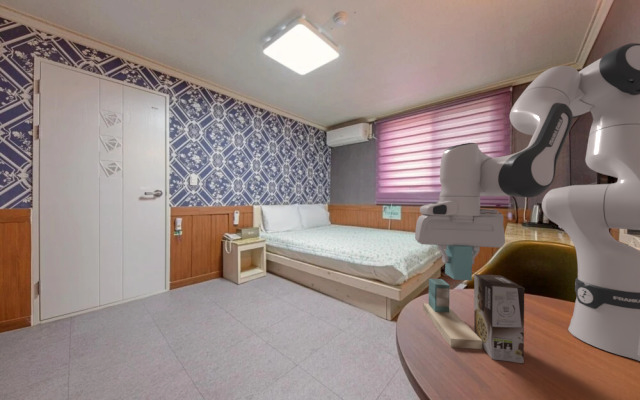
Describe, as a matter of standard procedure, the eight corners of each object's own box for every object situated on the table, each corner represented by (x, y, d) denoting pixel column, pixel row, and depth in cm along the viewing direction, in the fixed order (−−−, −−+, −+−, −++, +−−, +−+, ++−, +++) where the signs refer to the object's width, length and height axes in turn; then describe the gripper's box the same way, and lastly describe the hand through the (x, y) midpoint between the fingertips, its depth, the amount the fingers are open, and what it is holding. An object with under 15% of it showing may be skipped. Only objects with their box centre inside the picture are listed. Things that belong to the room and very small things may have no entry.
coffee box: (525, 364, 50) (526, 288, 50) (491, 359, 51) (492, 285, 51) (501, 339, 59) (502, 274, 59) (473, 336, 60) (473, 272, 60)
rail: (446, 310, 73) (446, 278, 74) (482, 349, 55) (482, 306, 55) (423, 309, 74) (423, 278, 74) (450, 347, 55) (451, 304, 55)
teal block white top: (459, 273, 62) (460, 243, 62) (471, 280, 56) (472, 246, 56) (444, 272, 62) (444, 242, 62) (454, 279, 56) (454, 246, 57)
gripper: (494, 209, 61) (493, 262, 61) (413, 207, 63) (412, 258, 63) (512, 209, 55) (511, 269, 55) (421, 207, 57) (420, 264, 57)
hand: (457, 263), depth 59 cm, fingers closed on teal block white top, 4 cm apart
